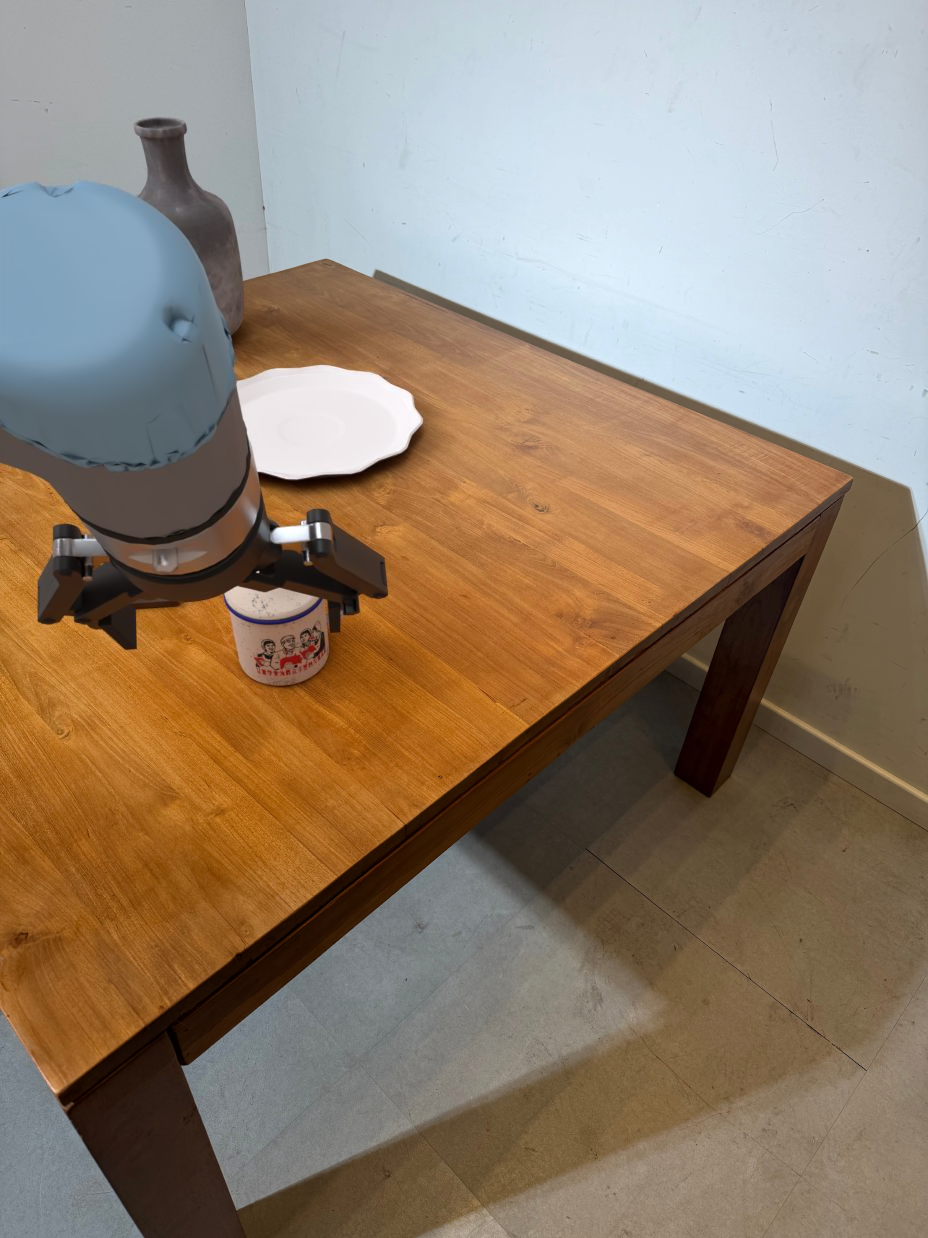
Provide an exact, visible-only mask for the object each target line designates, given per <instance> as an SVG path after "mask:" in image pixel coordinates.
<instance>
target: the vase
mask: <svg viewBox="0 0 928 1238" xmlns="http://www.w3.org/2000/svg"><path fill="white" fill-rule="evenodd" d="M133 130H134V133H135V135H137V136H138V137H139V139H140V142H141V146H142V149H143V153H144V158H145V164H146V171H147V176H146V182H145V185H144V187H143V188H142V190H141V192H139V193H138V194H136V195H135V196H136V197H138V198H140V199H142V200H143V201H145V202H147V203H148V204H150V205H151V206H153V207H154V208H155V209H157V210H158V211H159V212H161V213H162V214H163V215H164V216H166V217H167V218H168V219H169V220H170V221H171V222H172V223H173V224H174V225H175V226H176V227H177V228H178V229H179V230H180V231H181V232H182V233H183V234H184V235H185V237H186V238H187V239H188V241H189V242H190V244H191V245H192V247H193V249H194V250H195V252H196V254H197V255H198V257H199V259H200V261H201V263H202V265H203V267H204V270H205V272H206V275H207V278H208V281H209V284H210V287H211V290H212V293H213V296H214V299H215V302H216V305H217V308H218V309H219V310H220V311H221V313H222V315H223V317H224V319H225V321H226V323H227V326H228V329H229V332H230V335H231V336H233V335H234V334H235V333H236V332H237V331H238V329H239V328H240V327H241V325H242V323H243V319H244V315H245V290H244V289H245V288H244V276H243V269H242V261H241V253H240V247H239V242H238V236H237V235H238V234H237V231H236V226H235V222H234V218H233V215H232V212H231V209H229V206H228V205H227V204H226V203H225V201H224V200H223V199H222V198H221V197H219V196H218V195H216V194H214V193H212V192H210V191H207V190H206V189H203V188H202V187H201V186H200V185H199V184H198V183H197V182H196V180H195V179H194V178H193V176H192V174H191V171H190V169H189V164H188V160H187V159H188V158H187V151H186V143H185V134H187V132H188V126H187V123H186V121H185V120H182V119H180V118H176V117H165V116H155V117H147V118H141V119H138V120H136V121H135V122H134V123H133Z"/></svg>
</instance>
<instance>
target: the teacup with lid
mask: <svg viewBox="0 0 928 1238" xmlns="http://www.w3.org/2000/svg"><path fill="white" fill-rule="evenodd" d="M256 573H259V571H257V572H256ZM222 595H223V601H224V604H225V606H226V607H227V609H228V612H229V617H230V622H231V627H232V632H233V637H234V641H235V642H234V643H235V646H236V651H237V656H238V661H239V664H240V667H241V669H242V670H243V672H244V673H245V674H246V675H247V676H248V677H250V678H251V679H252V680H254V681H257V682H258V683H261V684H263V685H268V686H277V687H278V686H279V687H280V686H282V687H283V686H291V685H297V684H298V683H303V682H305V681H307V680H308V679H310V678H312V677H314V676H315V675H316V674H317V673H319V671H321V669H323V667H324V666H325V664H326V663H327V661H328V658H329V656H330V655H329V654H330V644H329V631H328V627H329V618H328V613H326V612H327V611H326V602H325V599H322V598H318V597H314V596H310V595H306V594H302V593H298V592H294V591H290V590H286V589H282V588H277V589H274V590H271V591H268V592H260V591H256V590H252V589H247V588H243V587H239V586H237V587H234V588H233V589H231V590H230V591H228V592H226V593H224V594H222ZM345 616H346V615H343V610H341V620H343V619H344V618H345Z"/></svg>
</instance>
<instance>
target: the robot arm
mask: <svg viewBox="0 0 928 1238" xmlns="http://www.w3.org/2000/svg"><path fill="white" fill-rule="evenodd" d="M232 339H233V338H232V335H230V332H229V329H228V326H227V323H226V321H225V319H224V317H223V315H222V313H221V311H220V310H219V309H218V308H217V305H216V302H215V299H214V296H213V293H212V290H211V287H210V284H209V281H208V278H207V275H206V272H205V270H204V267H203V265H202V263H201V261H200V259H199V257H198V255H197V254H196V252H195V250H194V249H193V247H192V245H191V244H190V242H189V241H188V239H187V238H186V237H185V235H184V234H183V233H182V232H181V231H180V230H179V229H178V228H177V227H176V226H175V225H174V224H173V223H172V222H171V221H170V220H169V219H168V218H167V217H166V216H164V215H163V214H162V213H161V212H159V211H158V210H157V209H155V208H154V207H153V206H151V205H150V204H148V203H147V202H145V201H143V200H142V199H140V198H138V197H136V195H134V194H132V193H131V192H128V191H125V190H124V189H120V188H118V187H115V186H113V185H108V184H105V183H101V182H96V181H92V180H87V179H78V180H76V181H75V182H74V183H73V184H68V185H54V186H53V185H51V186H49V185H48V186H47V185H42V184H41V183H39V182H38V181H31V182H22V183H19V184H15V185H12V186H9V187H6V188H3V189H1V190H0V464H2V465H5V466H8V467H11V468H15V469H17V470H20V471H23V472H26V473H29V474H32V475H33V476H36V477H38V478H39V479H42V480H44V481H45V482H47V483H48V484H49V485H50V486H51V487H52V488H53V489H54V491H55V492H56V493H57V494H58V495H59V496H60V497H61V499H62V500H63V501H64V503H65V504H66V505H67V506H68V507H69V509H70V511H71V512H73V513H74V514H75V516H76V517H77V518H78V519H79V520H80V522H81V523H82V524H83V526H84V527H85V528H86V529H87V530H88V532H89V533H82V531H81V528H79V526H77V525H75V524H72V523H59V524H55V525H53V526H52V553H51V555H50V558H49V559H48V560H47V563H46V565H45V566H44V568H43V570H42V572H41V573H40V575H39V578H38V579H37V597H36V599H37V604H36V605H37V607H36V609H37V612H36V613H37V614H36V617H37V622H38V623H39V624H41V625H48V626H51V625H55V624H59V623H60V622H61V621H62V620H63V619H64V617H73V623H76V624H80V625H83V626H87V627H88V628H89V629H92V630H96V631H97V630H98V631H99V630H103V632H104V633H105V634H107V635H108V636H109V637H110V638H111V639H112V640H114V641H115V642H116V643H117V644H118V645H119V646H120V647H121V648H122V649H123V650H124V651H131V650H138V635H137V634H138V633H137V609H134V608H133V607H132V605H131V603H133V602H135V601H136V600H138V599H142V600H149V601H153V600H155V599H157V598H161V599H164V600H169V601H175V602H180V603H195V602H196V603H197V602H202V601H207V600H210V599H214V598H217V597H220V596H222V595H224V593H226V592H228V591H230V590H231V589H233V588H234V587H237V586H239V587H243V588H247V589H252V590H256V591H260V592H268V591H271V590H274V589H277V588H282V589H286V590H290V591H294V592H298V593H302V594H306V595H310V596H314V597H318V598H322V599H324V600H326V604H327V605H326V606H327V614H328V618H329V626H328V629H329V634H341V632H342V630H341V629H342V628H341V625H342V624H341V622H342V619H341V610H343V615H345V616H356V615H358V614H360V613H361V608H360V607H361V606H360V597H359V596H361V595H363V596H366V597H368V598H370V599H375V600H381V599H385V598H387V597H388V596H389V586H388V577H387V567H386V558H385V556H384V555H382V554H380V553H379V552H377V551H376V550H374V549H373V548H371V547H370V546H369V545H367V544H366V543H363V541H361V540H359V539H358V538H356V537H354V536H353V535H352V534H350V533H349V532H347V531H346V530H344V529H343V528H342V527H340V526H339V525H336V524H335V523H334V521H333V517H332V516H331V512H330V511H329V510H328V509H325V508H312V509H309V510H308V511H307V512H306V513H305V516H306V519H303V520H301V521H300V522H299V525H288V526H280V525H279V524H278V522H277V521H276V520H274V519H272V518H270V517H269V516H268V514H267V510H266V504H265V500H264V496H263V492H262V488H261V484H260V479H259V473H257V468H256V464H255V459H254V454H253V450H252V446H251V443H250V440H249V437H248V434H247V428H246V425H245V422H244V420H243V416H242V411H241V406H240V401H239V396H238V391H237V385H236V383H237V381H238V378H237V376H236V372H235V369H234V368H235V366H236V362H237V357H236V354H235V350H234V346H233V340H232ZM257 571H259V573H256V572H257Z"/></svg>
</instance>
